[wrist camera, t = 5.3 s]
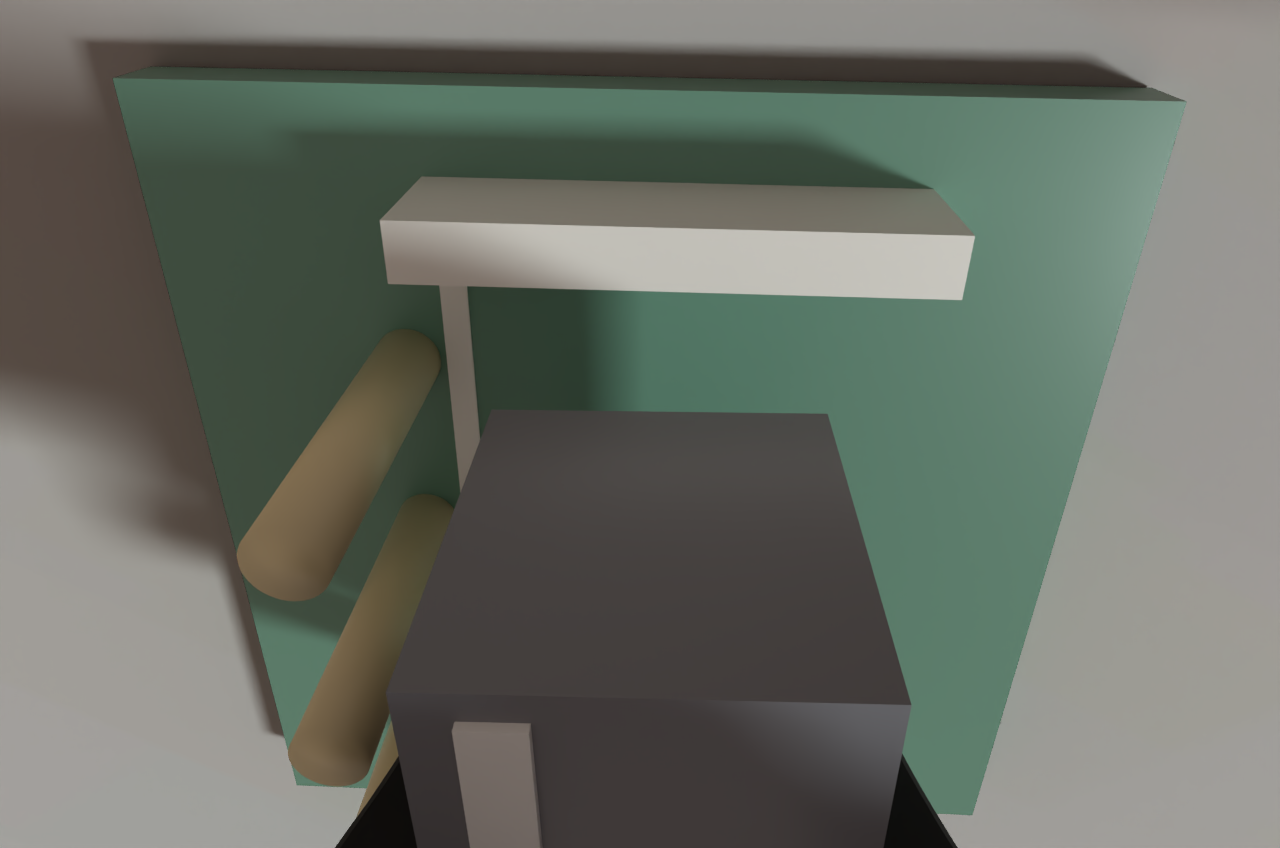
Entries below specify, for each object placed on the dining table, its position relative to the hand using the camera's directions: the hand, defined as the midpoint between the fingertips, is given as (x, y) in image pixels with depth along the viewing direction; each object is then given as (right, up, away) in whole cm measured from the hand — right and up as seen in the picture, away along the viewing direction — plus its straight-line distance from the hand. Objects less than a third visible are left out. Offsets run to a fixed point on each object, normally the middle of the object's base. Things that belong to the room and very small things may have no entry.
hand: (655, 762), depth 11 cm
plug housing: (0, +1, +1) cm, 2 cm away
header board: (0, +3, +5) cm, 6 cm away
